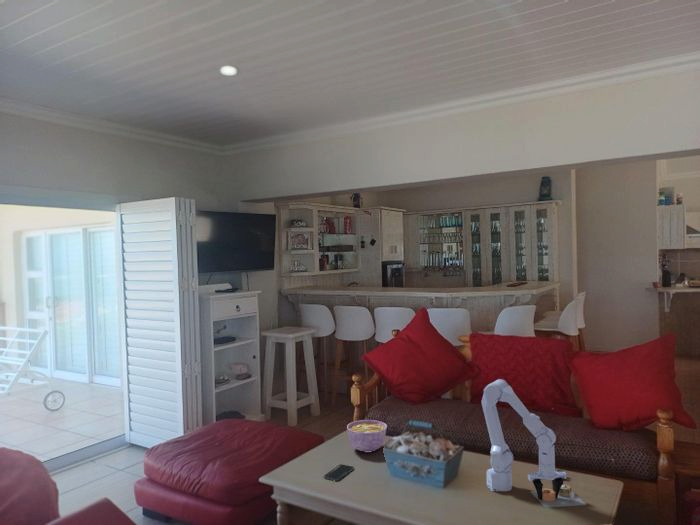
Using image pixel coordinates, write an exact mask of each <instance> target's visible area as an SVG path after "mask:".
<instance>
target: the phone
mask: <svg viewBox="0 0 700 525" xmlns="http://www.w3.org/2000/svg"><path fill="white" fill-rule="evenodd" d="M353 469H354V470H355V466H351V465H348V464H347V465H346V464H338V465H337V466H336V467H333V468H332V469H331V470H330V471H329V472H327V473H326V474H324V475H323V479H324V478H326V479H325V480H328V479H330V480H329V481H332V480H335V481H334V482H339V480H340V481H341V480H342V479H344V478H345V477H346V476H347V474H348V473H349V472H350V473H352V472H353V471H354V470H353ZM352 470H353V471H352ZM351 471H352V472H351ZM350 473H349V474H350ZM349 474H348V475H349ZM344 476H345V477H344ZM343 477H344V478H343Z"/></svg>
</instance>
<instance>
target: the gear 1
mask: <svg viewBox="0 0 700 525" xmlns="http://www.w3.org/2000/svg"><path fill="white" fill-rule="evenodd" d="M555 499H556V498H555V492H554V491H553V489H550V488H546V487H545V488H542V500H543V501H547V502H552V501H554V500H555Z"/></svg>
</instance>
